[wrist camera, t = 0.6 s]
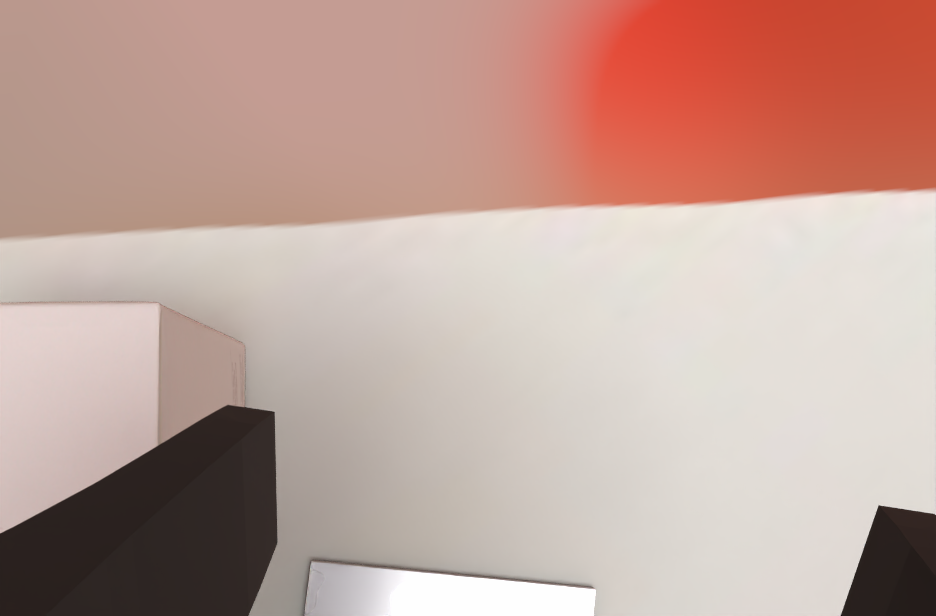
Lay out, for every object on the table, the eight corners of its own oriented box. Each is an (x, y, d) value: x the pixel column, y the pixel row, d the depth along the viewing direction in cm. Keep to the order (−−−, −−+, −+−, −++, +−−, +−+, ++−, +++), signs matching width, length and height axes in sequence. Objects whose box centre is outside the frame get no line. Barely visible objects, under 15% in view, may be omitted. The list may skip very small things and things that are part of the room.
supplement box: (249, 339, 35) (171, 297, 23) (246, 532, 34) (163, 597, 22) (55, 340, 35) (-134, 297, 22) (46, 536, 34) (-156, 606, 21)
